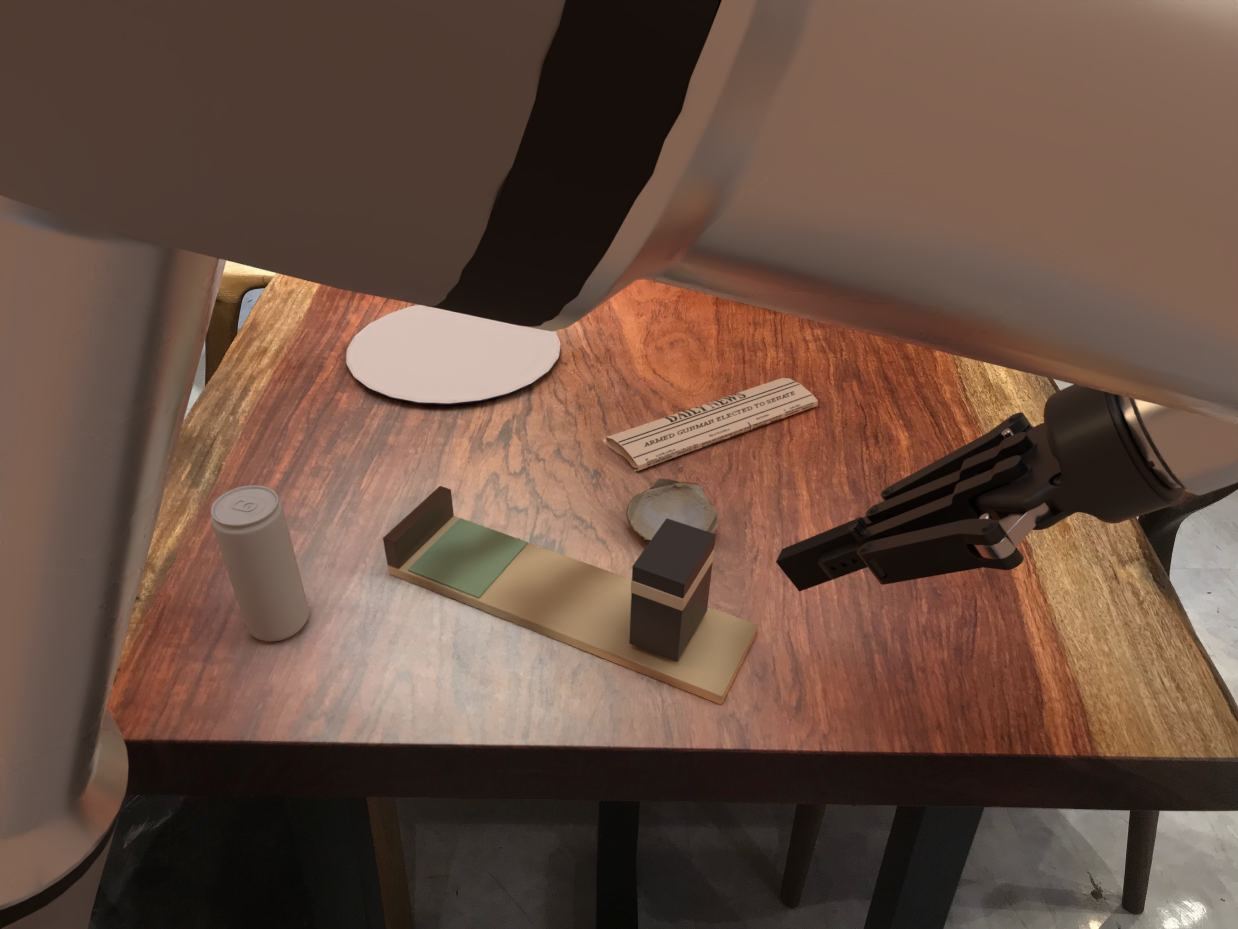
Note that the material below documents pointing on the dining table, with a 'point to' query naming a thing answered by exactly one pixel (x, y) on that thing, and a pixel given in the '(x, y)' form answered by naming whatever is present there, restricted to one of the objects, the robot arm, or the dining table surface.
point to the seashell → (671, 508)
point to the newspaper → (710, 422)
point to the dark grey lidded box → (671, 588)
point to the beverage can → (260, 561)
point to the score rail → (555, 596)
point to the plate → (448, 356)
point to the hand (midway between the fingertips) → (791, 570)
